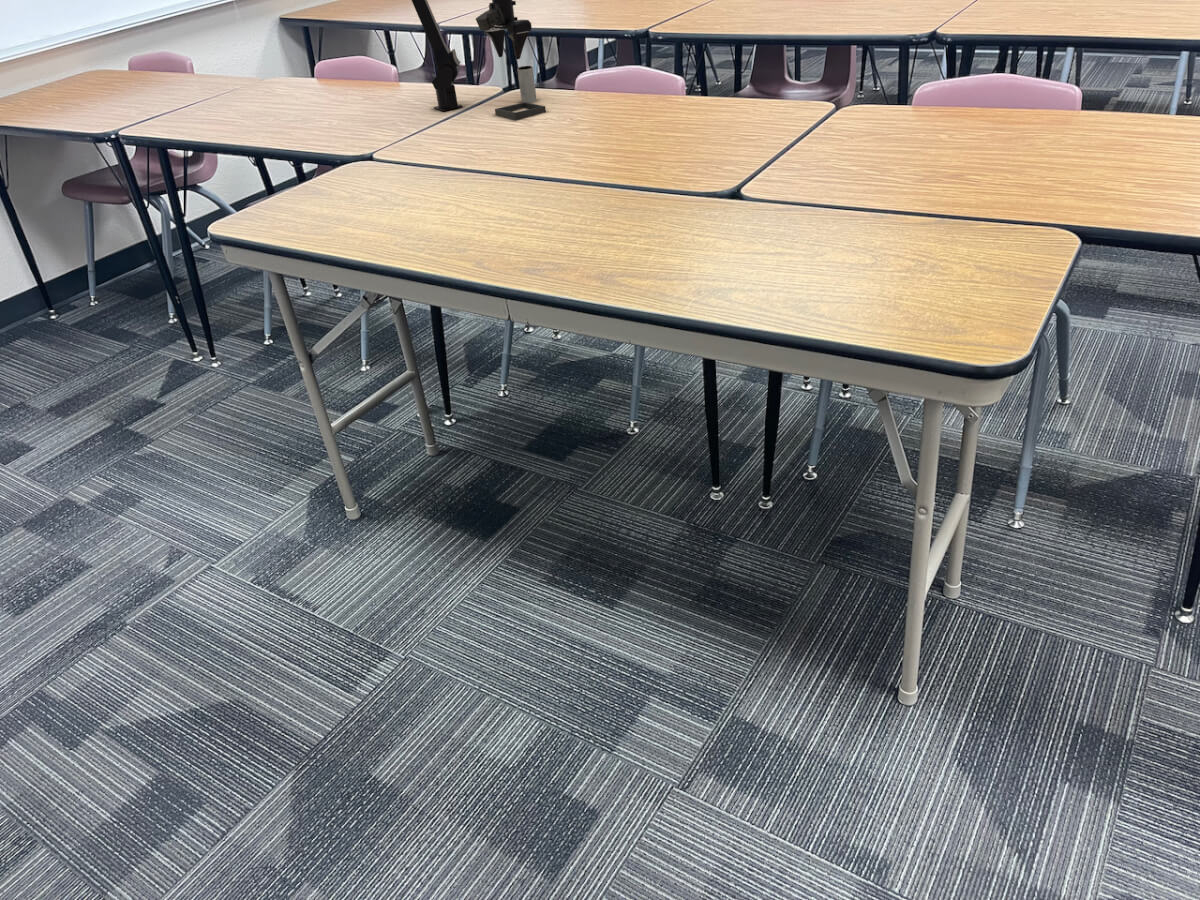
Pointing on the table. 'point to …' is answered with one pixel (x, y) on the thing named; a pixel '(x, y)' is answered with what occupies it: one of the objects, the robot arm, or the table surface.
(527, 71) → the gray cylinder
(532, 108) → the black square frame
